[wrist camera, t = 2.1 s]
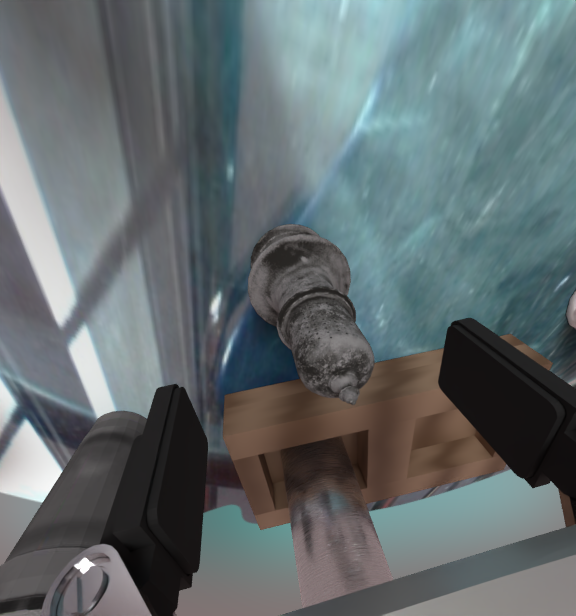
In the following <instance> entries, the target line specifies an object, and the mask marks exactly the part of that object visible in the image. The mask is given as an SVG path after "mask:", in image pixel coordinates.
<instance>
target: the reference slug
mask: <svg viewBox="0 0 576 616" xmlns="http://www.w3.org/2000/svg"><path fill="white" fill-rule="evenodd" d="M280 452H281V460H282V467H283V474H284V481H285V488H286V495H287V502H288V509H289V516H290V523H291V530H292V537H293V543H294V550H295V558H296V565H297V571H298V579H299V586H300V593H301V599H302V607H303V608H305V607H308V606H312V605H315V604H318V603H321V602H324V601H328V600H331V599H334V598H337V597H340V596H344V595H347V594H350V593H353V592H356V591H360V590H363V589H366V588H369V587H372V586H375V585H379V584H382V583H385V582H388V581H392V580H393V578H392V575H391V573H390V569H389V567H388V564H387V561H386V558H385V556H384V553H383V550H382V547H381V545H380V542H379V539H378V536H377V534H376V531H375V528H374V525H373V522H372V520H371V517H370V514H369V511H368V508H367V506H366V503H365V500H364V497H363V495H362V492H361V489H360V486H359V484H358V481H357V478H356V475H355V472H354V470H353V467H352V464H351V461H350V459H349V456H348V453H347V450H346V447H345V445H344V442H343V439H342V436H338V437H333V438H329V439H325V440H320V441H316V442H312V443H307V444H303V445H299V446H294V447H290V448H285V449H281V451H280Z"/></svg>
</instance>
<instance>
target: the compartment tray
mask: <svg viewBox="0 0 576 616" xmlns="http://www.w3.org/2000/svg"><path fill="white" fill-rule="evenodd" d="M499 337H501V338H502V339H504V340H505V341H507V342H508V343H509V344H511V345H512V346H514V347H515V348H517V349H518V350H520V351H521V352H523V353H524V354H525V355H527V356H528V357H530V358H531V359H533V360H534V361H536V362H537V363H539V364H540V365H541V366H543V367H544V368H546V369H547V370H550V368H551V366H552V364H553V363H552V362H551V361H549V360H548V359H546V358H545V357H543V356H542V355H540V354H539V353H538V352H536V351H535V350H533V349H532V348H530V347H529V346H527V345H526V344H524V343H523V342H522V341H520V340H519V339H517V338H516V337H514V336H513V335H511V334H508V335H503V336H499ZM443 351H444V348H442V349H438V350H433V351H428V352H424V353H419V354H414V355H410V356H405V357H400V358H396V359H391V360H386V361H382V362H377V363H374V368H373V371H372V374H371V377H370V378H369V380H368V382H367V383H366V384H365V385H364V386H363V387H362V388H361V389H359V391H360V394H359V396H358V399H357V401H356V404H355V405H351V404H348V403H346V402H343V401H341V400H340V399H339V398H327V397H322V396H320V395H318V394H315V393H313V392H311V391H310V390H309V389H307V388H306V387H305V385H304V384H303V382H302V381H301V379H297V380H293V381H288V382H283V383H279V384H274V385H269V386H264V387H260V388H255V389H250V390H246V391H241V392H236V393H232V394H227V395H225V402H224V422H223V439H224V441H225V444H226V446H227V448H228V451H229V453H230V456H231V458H232V461H233V463H234V466H235V468H236V471H237V473H238V476H239V478H240V481H241V483H242V486H243V488H244V491H245V493H246V496H247V498H248V501H249V503H250V505H251V508H252V510H253V513H254V515H255V518H256V520H257V523H258V525H259V528H260V530H263V529H266V528H271V527H274V526H279V525H283V524H286V523H290V516H289V509H288V502H287V495H286V488H285V481H284V474H283V467H282V460H281V452H280V451H281V449H285V448H290V447H294V446H299V445H303V444H307V443H312V442H316V441H320V440H325V439H329V438H333V437H338V436H342V439H343V442H344V445H345V447H346V450H347V453H348V456H349V459H350V461H351V464H352V467H353V470H354V472H355V475H356V478H357V481H358V484H359V486H360V489H361V492H362V495H363V497H364V500H365V503H366V504H367V503H371V502H375V501H380V500H384V499H388V498H392V497H396V496H400V495H404V494H408V493H412V492H416V491H420V490H424V489H428V488H432V487H436V486H440V485H444V484H448V483H452V482H456V481H460V480H464V479H468V478H472V477H476V476H480V475H484V474H488V473H492V472H496V471H500V470H504V467H505V465H506V463H505V462H504V461H503V459H502V458H501V457H500V456H499V455H498V454H497V453H496V452H495V450H494V449H493V448H492V447H491V446H490V445H489V444H488V443H487V441H486V440H485V439H484V438H483V437H482V436H481V435H480V433H479V432H478V431H477V430H476V429H475V428H474V427H473V426H472V424H471V423H470V422H469V421H468V420H467V419H466V418H465V417H464V415H463V414H462V413H461V412H460V411H459V410H458V409H457V408H456V406H455V405H454V404H453V403H452V402H451V401H450V400H449V398H448V397H447V396H446V395H445V394H444V393H443V392H442V390H441V389H440V387H439V384H438V378H439V373H440V367H441V362H442V356H443Z"/></svg>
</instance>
